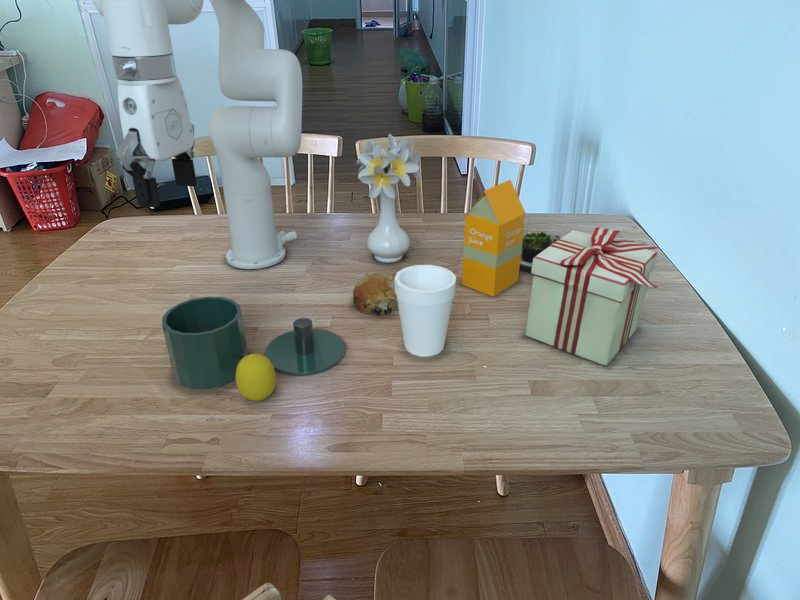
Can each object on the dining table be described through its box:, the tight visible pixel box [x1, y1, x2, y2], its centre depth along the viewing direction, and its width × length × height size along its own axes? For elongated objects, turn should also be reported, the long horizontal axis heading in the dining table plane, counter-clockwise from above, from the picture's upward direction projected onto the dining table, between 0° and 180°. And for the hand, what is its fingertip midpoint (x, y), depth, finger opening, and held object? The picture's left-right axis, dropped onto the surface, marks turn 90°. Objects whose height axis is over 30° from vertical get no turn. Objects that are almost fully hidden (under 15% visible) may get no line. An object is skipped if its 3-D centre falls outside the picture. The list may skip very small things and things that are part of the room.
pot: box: [161, 296, 249, 390], centre depth 91 cm, size 11×11×10 cm
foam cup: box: [394, 264, 457, 358], centre depth 96 cm, size 10×9×13 cm
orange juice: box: [461, 179, 526, 297], centre depth 114 cm, size 8×9×20 cm
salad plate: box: [519, 230, 564, 273], centre depth 130 cm, size 19×18×5 cm
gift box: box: [524, 226, 660, 367], centre depth 98 cm, size 17×18×17 cm
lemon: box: [235, 353, 277, 402], centre depth 85 cm, size 6×6×8 cm
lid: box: [264, 317, 346, 377], centre depth 96 cm, size 13×13×6 cm
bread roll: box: [352, 271, 399, 316], centre depth 111 cm, size 10×10×8 cm
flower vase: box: [355, 133, 422, 264], centre depth 123 cm, size 13×18×25 cm
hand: (168, 195), depth 87 cm, fingers open, 9 cm apart
